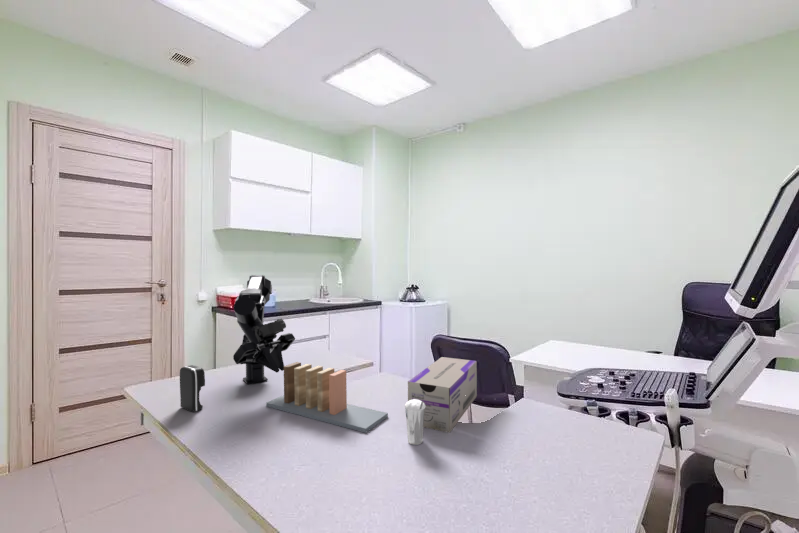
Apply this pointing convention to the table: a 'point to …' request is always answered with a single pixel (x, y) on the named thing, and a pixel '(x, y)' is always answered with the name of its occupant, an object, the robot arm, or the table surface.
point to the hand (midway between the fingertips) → (280, 370)
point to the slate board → (347, 418)
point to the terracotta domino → (337, 392)
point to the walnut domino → (289, 382)
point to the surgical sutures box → (445, 391)
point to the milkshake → (415, 420)
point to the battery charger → (191, 387)
